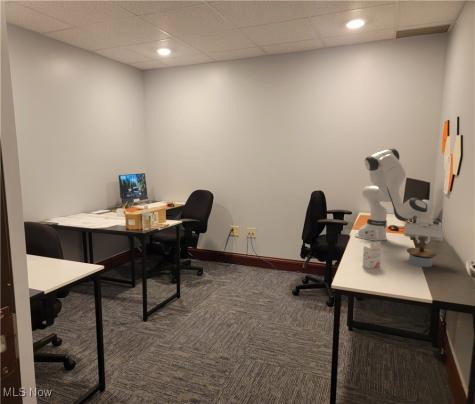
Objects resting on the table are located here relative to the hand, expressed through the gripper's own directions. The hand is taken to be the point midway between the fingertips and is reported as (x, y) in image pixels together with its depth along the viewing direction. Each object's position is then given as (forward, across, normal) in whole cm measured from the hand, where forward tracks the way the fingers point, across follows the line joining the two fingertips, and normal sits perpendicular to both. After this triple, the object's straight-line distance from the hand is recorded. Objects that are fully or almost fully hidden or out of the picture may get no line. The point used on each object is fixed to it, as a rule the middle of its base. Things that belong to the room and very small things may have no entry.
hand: (422, 243), depth 196 cm
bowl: (+8, 0, +9) cm, 12 cm away
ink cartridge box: (+24, -24, -7) cm, 34 cm away
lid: (+4, 0, +4) cm, 6 cm away
